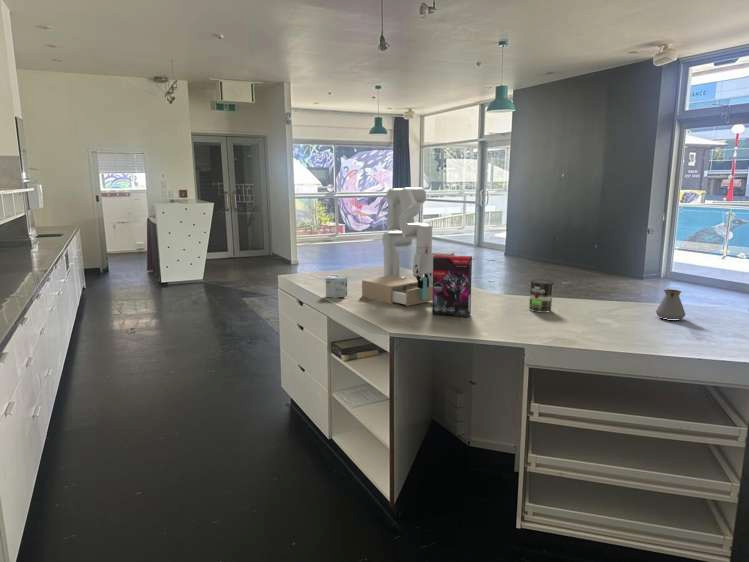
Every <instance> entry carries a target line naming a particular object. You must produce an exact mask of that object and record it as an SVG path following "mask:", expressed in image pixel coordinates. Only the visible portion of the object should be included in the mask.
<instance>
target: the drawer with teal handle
mask: <svg viewBox="0 0 749 562" xmlns="http://www.w3.org/2000/svg"><path fill="white" fill-rule="evenodd" d="M422 280H423V288H422V289H421V288H418V287H416V286H411V285H405V286H399V287H394V288H392V301H393V302H397V303H396V304H402V305H406V307H409V306H414V305H419V304H422V303H429V302H433V285H432V286H429V287H427V277H424V276H423V278H422Z"/></svg>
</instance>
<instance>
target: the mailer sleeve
mask: <svg viewBox="0 0 749 562" xmlns="http://www.w3.org/2000/svg"><path fill="white" fill-rule="evenodd" d="M417 283H418V280H413V279H408V278H406V279H404V278H399V277H394V276H384V275H383V276H377V277H374V278H367V279H362V280H361V297H362V296H363V297H362V298H365V297H366V298H365V299H369V298H370V299H369V300H374V301H377V302H382V303H385V304H388V305H394V304H398V303H397V302H393V301H392V288H394V287H399V286H405V285H411V286H416V287H417Z"/></svg>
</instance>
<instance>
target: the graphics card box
mask: <svg viewBox="0 0 749 562" xmlns="http://www.w3.org/2000/svg"><path fill="white" fill-rule="evenodd" d="M472 266H473V256H472V255H455V254H454V255H435V256H434V257H433V301H432V306H431V307H432V308H431V309H432V310H431V312H432V315H437V314H438V316H440V315H441V316H451V317H452V316H453V317H463V318H468V317H469V316H470V315H471V308H472V270H473V269H472V268H473V267H472Z"/></svg>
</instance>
